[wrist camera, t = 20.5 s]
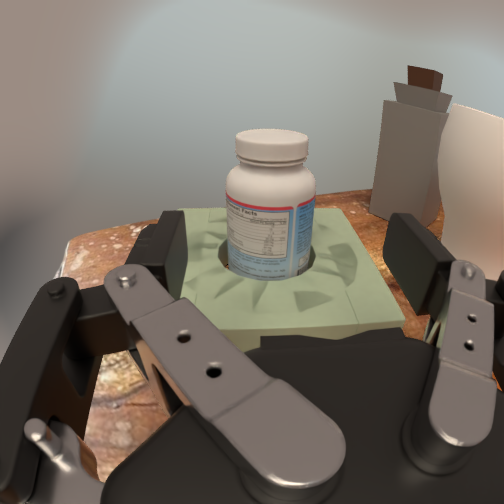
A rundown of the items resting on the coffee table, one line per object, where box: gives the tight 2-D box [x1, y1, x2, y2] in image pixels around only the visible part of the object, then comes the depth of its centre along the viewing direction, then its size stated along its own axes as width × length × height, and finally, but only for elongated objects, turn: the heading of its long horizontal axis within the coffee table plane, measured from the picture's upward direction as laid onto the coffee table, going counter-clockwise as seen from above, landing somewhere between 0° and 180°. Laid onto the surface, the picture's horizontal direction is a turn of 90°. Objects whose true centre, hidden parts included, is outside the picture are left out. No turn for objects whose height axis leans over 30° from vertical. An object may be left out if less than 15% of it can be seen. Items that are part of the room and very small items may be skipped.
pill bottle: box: [226, 129, 316, 281], centre depth 23 cm, size 6×6×11 cm
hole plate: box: [177, 208, 406, 352], centre depth 25 cm, size 16×16×2 cm
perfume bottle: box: [369, 66, 452, 228], centre depth 32 cm, size 7×7×18 cm
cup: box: [437, 103, 504, 281], centre depth 20 cm, size 11×11×15 cm
